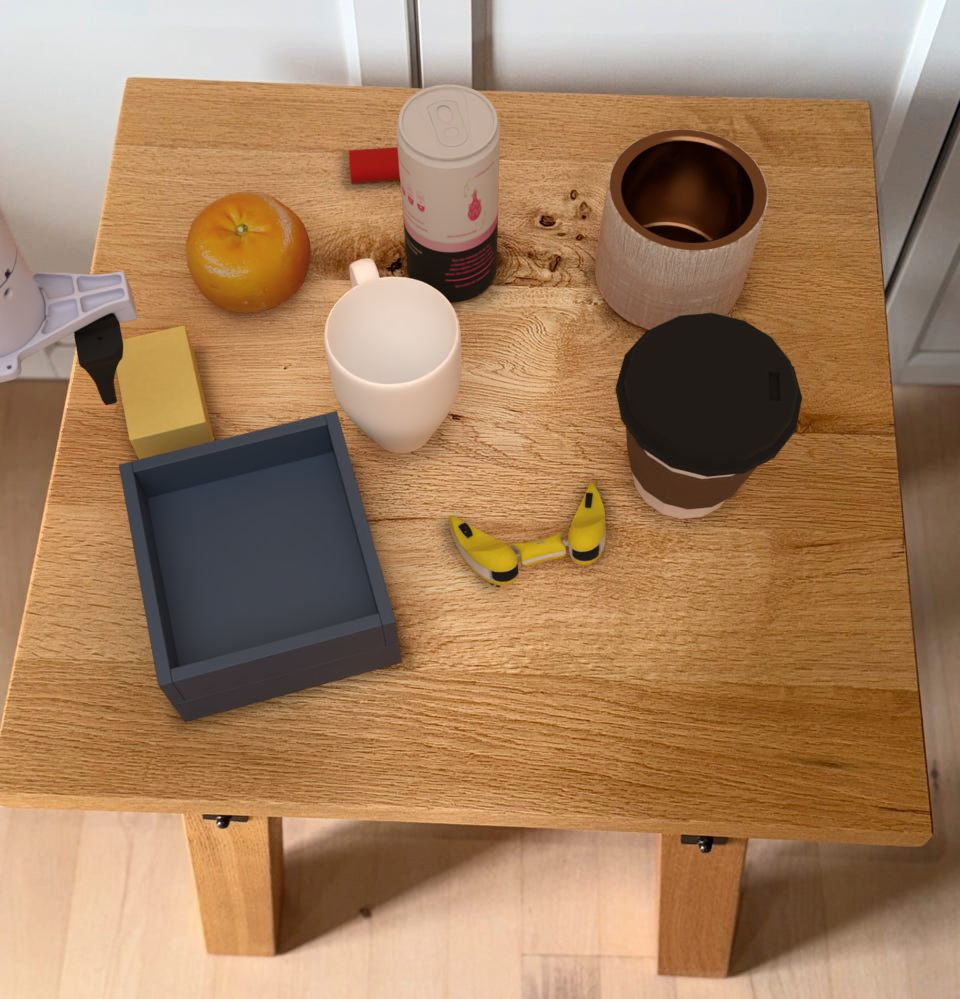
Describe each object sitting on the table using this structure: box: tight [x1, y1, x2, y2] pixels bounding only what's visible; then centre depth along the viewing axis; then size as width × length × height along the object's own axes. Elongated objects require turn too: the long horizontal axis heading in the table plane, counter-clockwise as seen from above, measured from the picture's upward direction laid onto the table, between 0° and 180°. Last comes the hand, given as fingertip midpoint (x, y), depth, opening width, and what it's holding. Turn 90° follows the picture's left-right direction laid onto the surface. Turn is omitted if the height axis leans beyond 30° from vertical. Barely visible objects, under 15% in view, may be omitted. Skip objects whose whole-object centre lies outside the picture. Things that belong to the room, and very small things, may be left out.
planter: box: [594, 128, 769, 331], centre depth 84 cm, size 11×11×10 cm
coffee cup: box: [615, 313, 803, 520], centre depth 75 cm, size 11×11×12 cm
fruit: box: [185, 190, 312, 314], centre depth 85 cm, size 8×8×8 cm
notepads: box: [116, 325, 215, 460], centre depth 81 cm, size 5×8×4 cm, turn 16°
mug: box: [323, 257, 463, 454], centre depth 78 cm, size 12×8×11 cm
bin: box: [118, 410, 403, 723], centre depth 74 cm, size 14×15×7 cm
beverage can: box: [395, 83, 501, 304], centre depth 82 cm, size 6×7×15 cm
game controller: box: [448, 481, 607, 588], centre depth 77 cm, size 10×6×4 cm, turn 106°
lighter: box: [348, 147, 400, 184], centre depth 92 cm, size 3×1×8 cm
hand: (45, 405), depth 72 cm, fingers open, 7 cm apart
